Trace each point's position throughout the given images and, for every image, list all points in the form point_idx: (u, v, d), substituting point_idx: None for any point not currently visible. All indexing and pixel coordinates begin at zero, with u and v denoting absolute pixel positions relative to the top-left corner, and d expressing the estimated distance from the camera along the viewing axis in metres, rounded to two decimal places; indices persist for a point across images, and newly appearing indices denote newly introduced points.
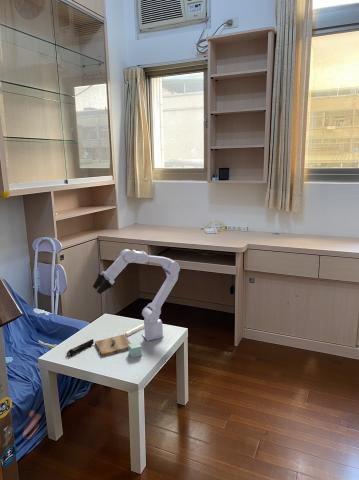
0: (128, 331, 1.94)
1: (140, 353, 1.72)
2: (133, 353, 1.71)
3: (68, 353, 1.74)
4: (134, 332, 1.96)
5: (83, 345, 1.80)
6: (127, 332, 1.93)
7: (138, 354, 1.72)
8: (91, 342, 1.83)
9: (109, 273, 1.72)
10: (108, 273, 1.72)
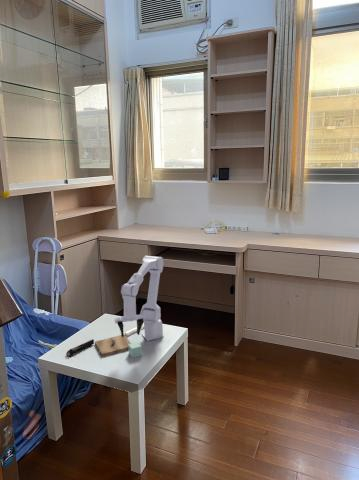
0: (128, 331, 1.94)
1: (140, 353, 1.72)
2: (133, 353, 1.71)
3: (68, 353, 1.74)
4: (134, 332, 1.96)
5: (83, 345, 1.80)
6: (127, 332, 1.93)
7: (138, 354, 1.72)
8: (91, 342, 1.83)
9: (135, 315, 1.68)
10: (134, 316, 1.68)
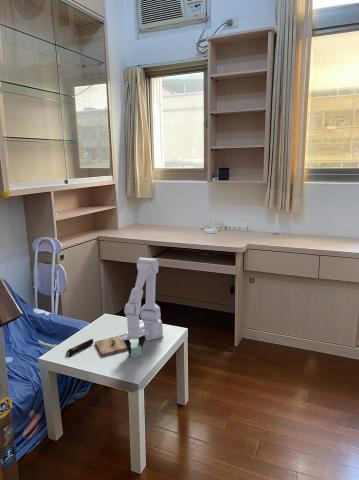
0: None
1: (140, 353, 1.72)
2: (133, 353, 1.71)
3: (67, 352, 1.75)
4: None
5: (82, 344, 1.80)
6: (127, 332, 1.93)
7: (138, 354, 1.72)
8: (91, 342, 1.84)
9: (139, 333, 1.71)
10: (139, 334, 1.71)
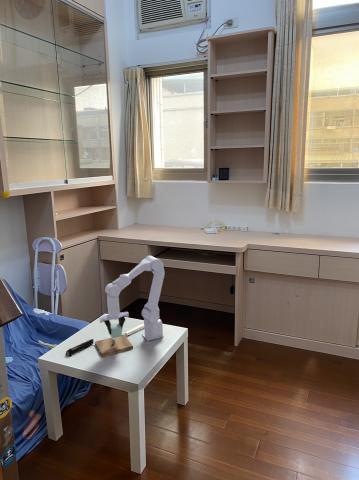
0: (128, 331, 1.94)
1: (120, 334, 1.78)
2: (113, 333, 1.76)
3: (67, 352, 1.75)
4: (134, 332, 1.96)
5: (82, 345, 1.80)
6: (127, 332, 1.93)
7: (118, 335, 1.77)
8: (91, 342, 1.84)
9: (119, 313, 1.77)
10: (119, 314, 1.76)
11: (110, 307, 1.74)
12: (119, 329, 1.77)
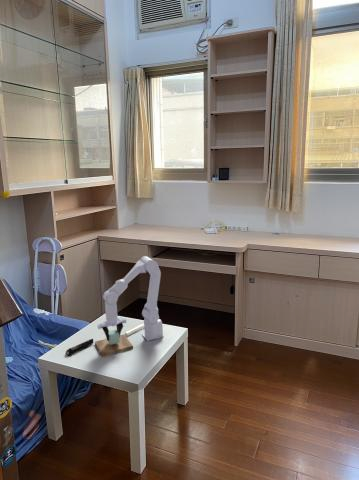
0: (128, 331, 1.94)
1: (118, 340, 1.80)
2: (111, 340, 1.78)
3: (67, 352, 1.75)
4: (134, 332, 1.96)
5: (82, 344, 1.80)
6: (127, 332, 1.93)
7: (116, 341, 1.79)
8: (91, 341, 1.84)
9: (117, 320, 1.79)
10: (116, 321, 1.78)
11: (107, 314, 1.76)
12: (117, 335, 1.79)
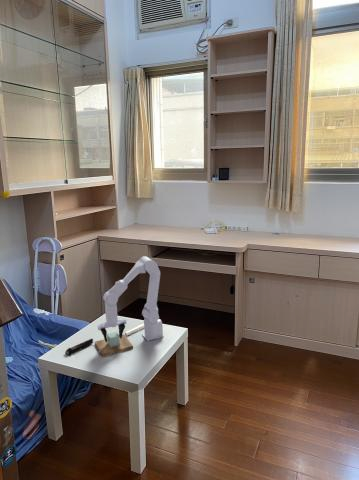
0: (128, 331, 1.94)
1: (118, 342, 1.80)
2: (111, 342, 1.78)
3: (66, 352, 1.76)
4: (134, 332, 1.96)
5: (82, 344, 1.81)
6: (127, 332, 1.93)
7: (116, 343, 1.80)
8: (90, 341, 1.84)
9: (117, 321, 1.79)
10: (116, 322, 1.78)
11: (108, 315, 1.76)
12: (117, 338, 1.79)
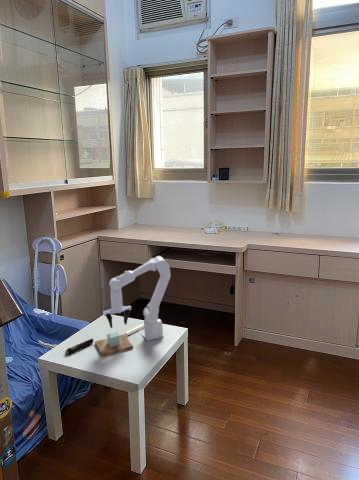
0: (128, 331, 1.94)
1: (118, 342, 1.80)
2: (111, 342, 1.78)
3: (66, 352, 1.76)
4: (134, 332, 1.96)
5: (82, 344, 1.81)
6: (127, 332, 1.93)
7: (116, 343, 1.80)
8: (90, 341, 1.84)
9: (122, 307, 1.82)
10: (121, 308, 1.82)
11: (112, 301, 1.79)
12: (117, 338, 1.79)
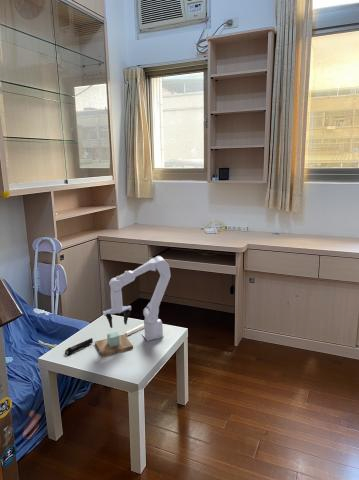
0: (128, 331, 1.94)
1: (118, 342, 1.80)
2: (111, 342, 1.78)
3: (66, 351, 1.76)
4: (134, 332, 1.96)
5: (82, 344, 1.81)
6: (127, 332, 1.93)
7: (116, 343, 1.80)
8: (90, 341, 1.85)
9: (122, 307, 1.82)
10: (121, 308, 1.82)
11: (112, 301, 1.79)
12: (117, 338, 1.79)
